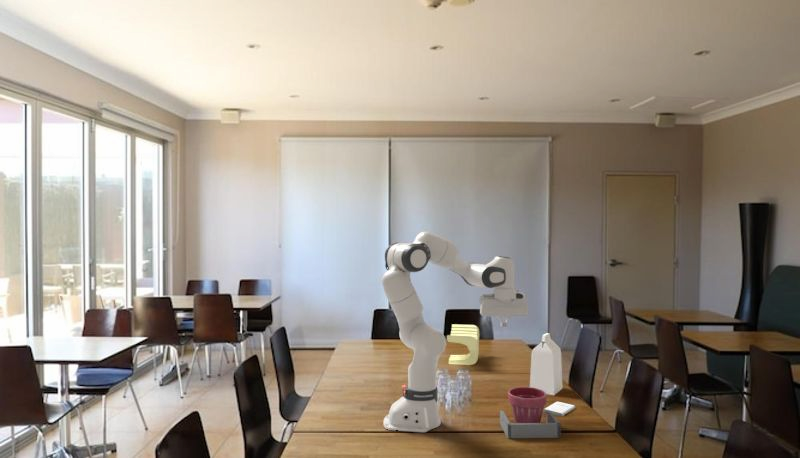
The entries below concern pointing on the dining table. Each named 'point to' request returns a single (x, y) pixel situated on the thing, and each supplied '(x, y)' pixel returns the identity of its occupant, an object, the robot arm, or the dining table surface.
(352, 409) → the dining table surface
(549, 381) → the milk
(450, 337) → the slatted curved stool
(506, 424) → the frame
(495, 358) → the dining table surface
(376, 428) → the dining table surface
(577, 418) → the dining table surface
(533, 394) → the plant pot
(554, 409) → the external hard drive
